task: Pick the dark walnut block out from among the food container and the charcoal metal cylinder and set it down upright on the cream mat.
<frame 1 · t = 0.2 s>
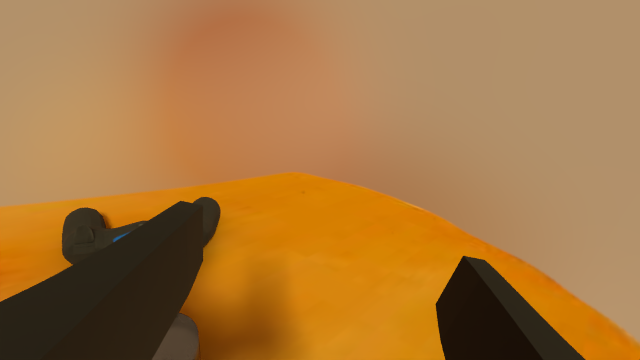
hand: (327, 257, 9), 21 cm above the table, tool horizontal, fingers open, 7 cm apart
gaming controller: (149, 247, 38), on the table
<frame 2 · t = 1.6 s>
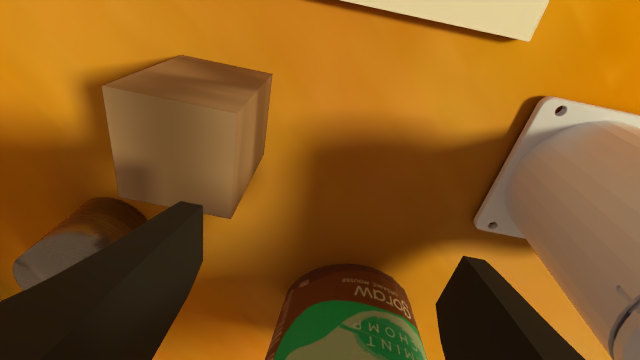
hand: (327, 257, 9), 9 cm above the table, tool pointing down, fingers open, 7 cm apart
food container: (359, 283, 23), on the table
charcoal metal cylinder: (117, 228, 22), on the table
walnut block: (225, 108, 17), on the table
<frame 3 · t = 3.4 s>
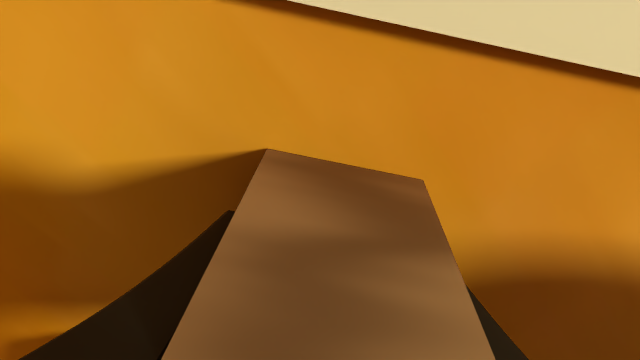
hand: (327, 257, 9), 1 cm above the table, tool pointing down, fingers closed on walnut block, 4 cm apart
walnut block: (329, 225, 10), on the table, touching gripper
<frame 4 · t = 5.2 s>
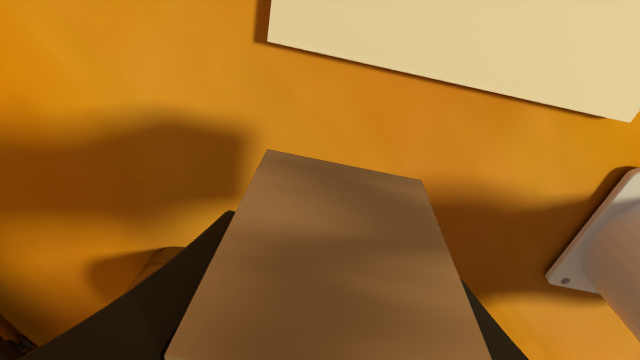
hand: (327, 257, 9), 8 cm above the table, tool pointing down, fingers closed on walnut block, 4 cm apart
charcoal metal cylinder: (185, 274, 22), on the table
walnut block: (329, 225, 10), point 7 cm above the table, touching gripper
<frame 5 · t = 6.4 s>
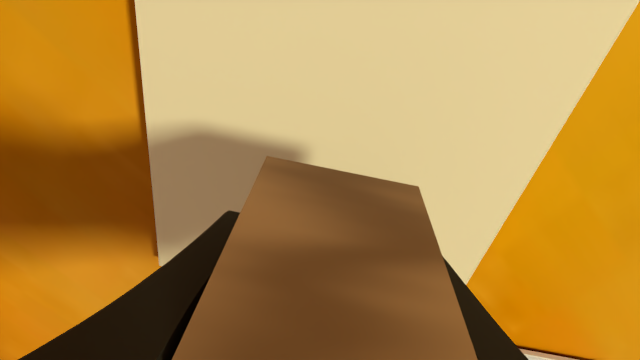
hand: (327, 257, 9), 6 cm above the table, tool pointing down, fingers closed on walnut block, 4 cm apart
cream mat: (335, 159, 14), on the table
walnut block: (327, 229, 11), point 5 cm above the table, touching gripper
when the fingers open (4 cm above the table, at t = 7.3 s): walnut block drops 1 cm, resting on cream mat.
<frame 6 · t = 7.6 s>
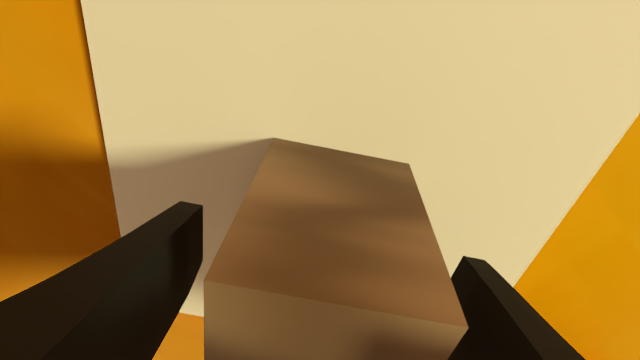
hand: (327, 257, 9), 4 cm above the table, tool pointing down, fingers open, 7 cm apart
cream mat: (332, 187, 12), on the table
walnut block: (328, 206, 12), point 1 cm above the table, touching cream mat
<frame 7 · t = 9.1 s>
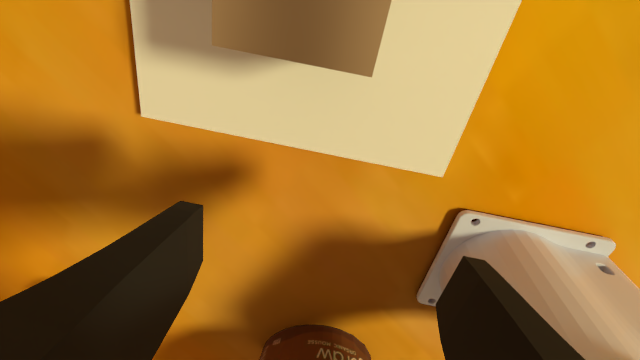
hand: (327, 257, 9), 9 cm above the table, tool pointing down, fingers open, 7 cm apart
food container: (325, 338, 27), on the table
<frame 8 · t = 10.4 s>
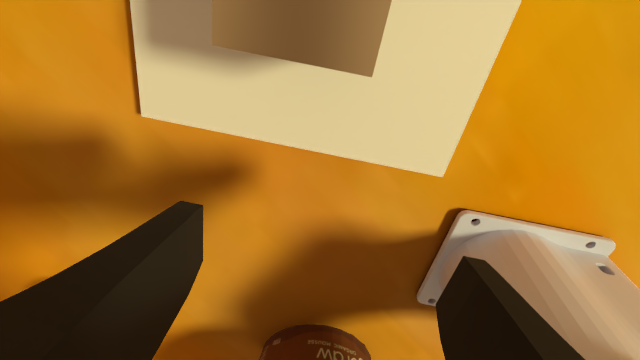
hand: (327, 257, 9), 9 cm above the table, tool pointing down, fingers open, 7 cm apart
food container: (325, 338, 27), on the table
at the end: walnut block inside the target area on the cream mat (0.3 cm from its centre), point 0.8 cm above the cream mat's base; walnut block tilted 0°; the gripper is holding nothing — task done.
